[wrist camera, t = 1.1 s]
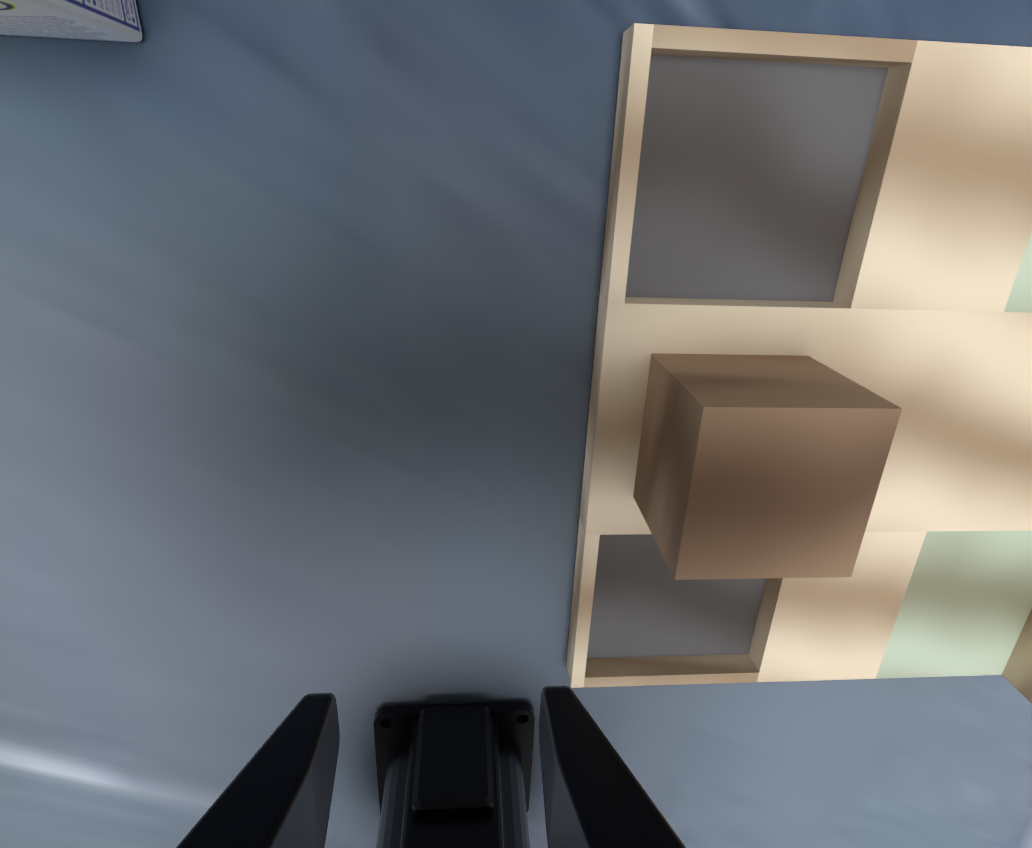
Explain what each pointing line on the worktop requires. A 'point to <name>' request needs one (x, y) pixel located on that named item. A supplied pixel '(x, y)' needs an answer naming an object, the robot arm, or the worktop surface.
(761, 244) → the trap board
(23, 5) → the medicine box
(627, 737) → the worktop surface
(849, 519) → the walnut block
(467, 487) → the worktop surface
